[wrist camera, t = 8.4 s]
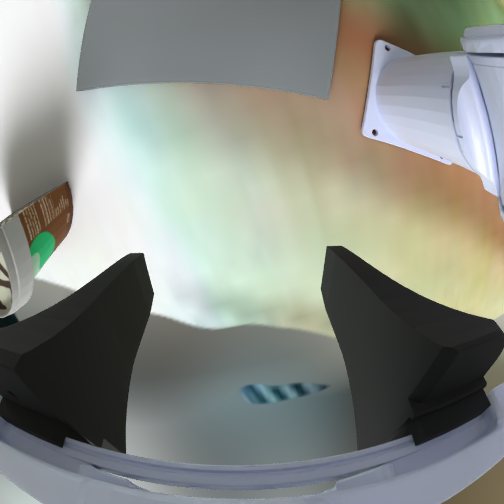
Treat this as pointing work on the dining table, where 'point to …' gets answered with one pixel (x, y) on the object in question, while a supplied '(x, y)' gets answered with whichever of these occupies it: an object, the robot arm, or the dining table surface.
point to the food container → (31, 244)
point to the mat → (211, 43)
